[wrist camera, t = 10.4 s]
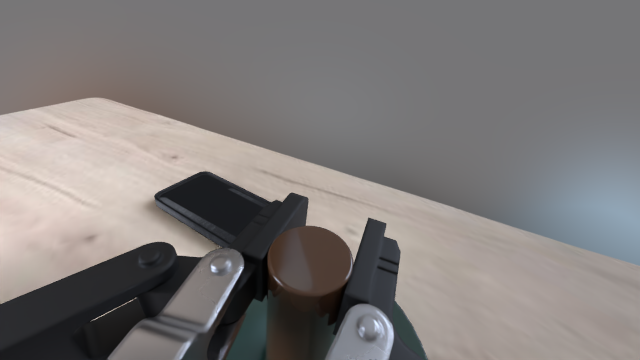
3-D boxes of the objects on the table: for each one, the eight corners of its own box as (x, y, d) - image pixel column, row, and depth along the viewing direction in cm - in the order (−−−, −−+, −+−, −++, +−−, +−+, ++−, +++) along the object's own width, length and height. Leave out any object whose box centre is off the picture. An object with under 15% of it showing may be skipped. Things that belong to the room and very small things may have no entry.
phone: (246, 255, 25) (149, 195, 30) (247, 262, 25) (152, 203, 31) (293, 212, 31) (205, 169, 36) (292, 219, 31) (206, 175, 37)
